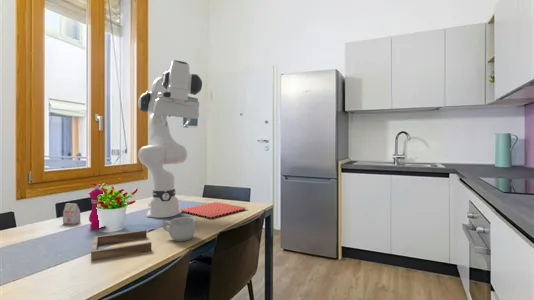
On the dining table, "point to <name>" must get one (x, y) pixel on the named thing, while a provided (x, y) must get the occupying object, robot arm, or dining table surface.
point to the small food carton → (71, 214)
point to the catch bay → (119, 250)
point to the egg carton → (213, 209)
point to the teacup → (181, 228)
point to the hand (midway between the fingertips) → (175, 126)
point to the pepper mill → (94, 208)
